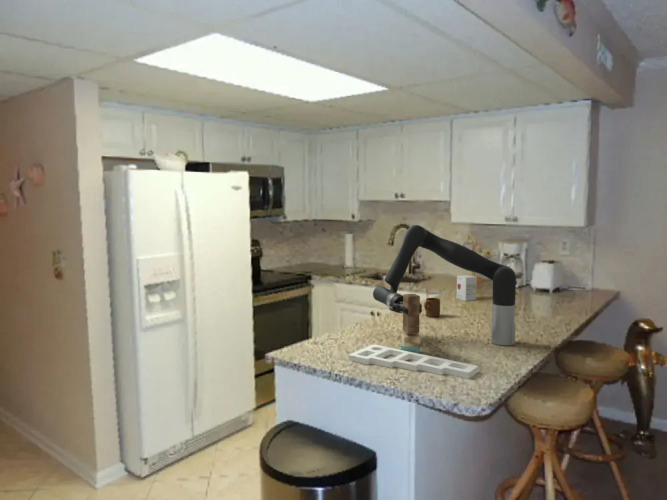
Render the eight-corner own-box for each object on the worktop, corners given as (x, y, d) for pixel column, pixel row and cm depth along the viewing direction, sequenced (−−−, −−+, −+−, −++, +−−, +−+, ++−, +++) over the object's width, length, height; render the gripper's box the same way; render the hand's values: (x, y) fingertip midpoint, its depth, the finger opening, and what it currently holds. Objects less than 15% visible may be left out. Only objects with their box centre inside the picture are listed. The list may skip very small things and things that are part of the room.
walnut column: (414, 329, 201) (414, 293, 199) (419, 332, 196) (419, 296, 195) (402, 330, 200) (403, 294, 198) (407, 333, 195) (408, 296, 193)
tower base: (419, 351, 201) (419, 342, 201) (418, 357, 195) (418, 347, 194) (402, 350, 203) (402, 341, 203) (400, 355, 196) (400, 345, 196)
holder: (478, 373, 177) (478, 365, 176) (457, 387, 163) (457, 380, 162) (373, 350, 204) (373, 344, 204) (348, 361, 190) (348, 354, 190)
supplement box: (455, 298, 313) (456, 275, 311) (467, 297, 316) (467, 274, 315) (465, 301, 305) (465, 277, 303) (476, 300, 308) (477, 276, 307)
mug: (431, 320, 256) (431, 302, 255) (418, 317, 261) (418, 300, 260) (442, 316, 265) (442, 298, 264) (430, 314, 270) (430, 297, 269)
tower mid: (417, 341, 202) (417, 332, 201) (420, 346, 195) (420, 336, 195) (401, 342, 202) (401, 332, 201) (404, 346, 195) (404, 336, 195)
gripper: (382, 294, 209) (397, 302, 192) (413, 293, 212) (430, 301, 196) (382, 312, 209) (397, 321, 193) (413, 310, 213) (430, 319, 197)
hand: (414, 311), depth 194 cm, fingers closed on walnut column, 5 cm apart
